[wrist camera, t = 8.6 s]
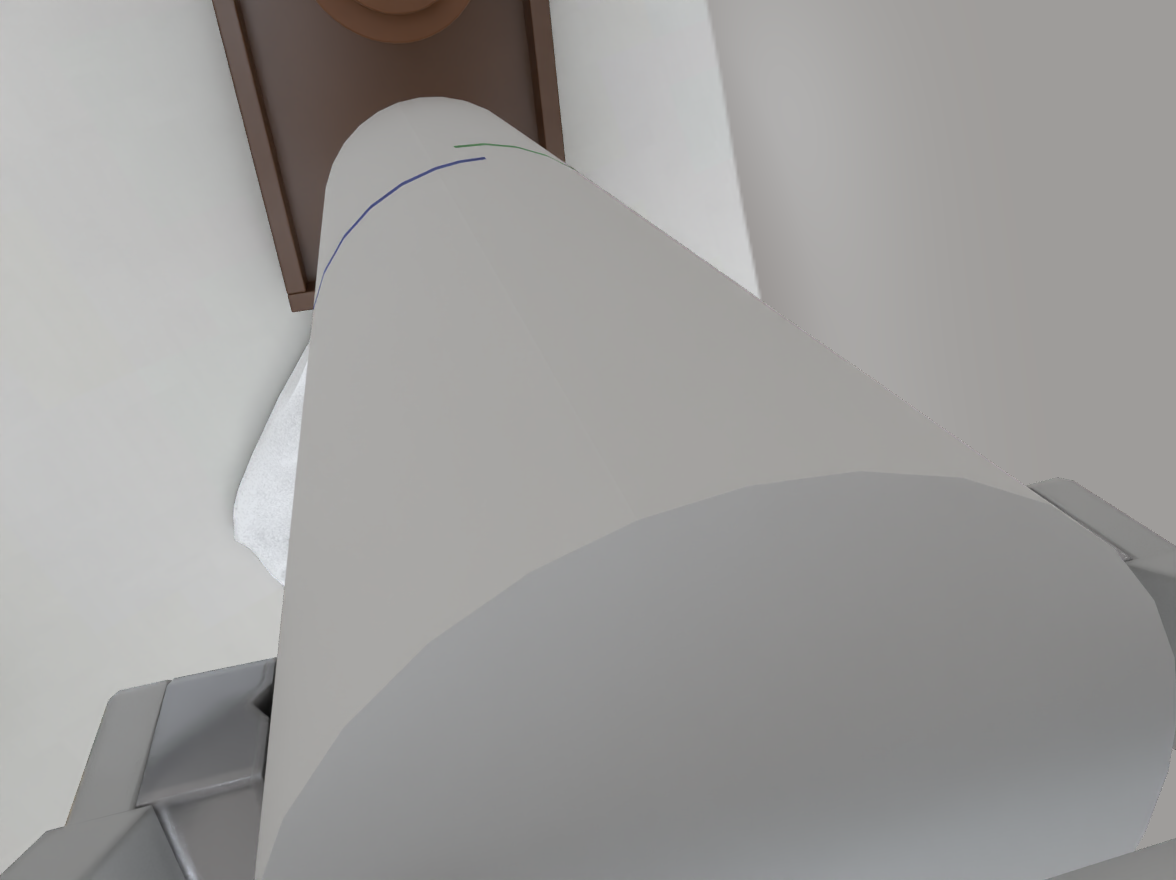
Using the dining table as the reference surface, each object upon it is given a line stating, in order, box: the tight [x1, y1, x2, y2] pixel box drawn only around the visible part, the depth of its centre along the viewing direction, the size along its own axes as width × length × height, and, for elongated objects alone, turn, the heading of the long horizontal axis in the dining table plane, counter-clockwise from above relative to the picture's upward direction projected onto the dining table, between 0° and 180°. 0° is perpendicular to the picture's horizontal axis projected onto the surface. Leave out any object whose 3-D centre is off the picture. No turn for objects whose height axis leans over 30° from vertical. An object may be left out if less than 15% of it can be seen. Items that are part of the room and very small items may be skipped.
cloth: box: [233, 341, 310, 586], centre depth 44 cm, size 26×14×2 cm, turn 173°
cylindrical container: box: [255, 97, 1176, 880], centre depth 18 cm, size 7×7×25 cm
